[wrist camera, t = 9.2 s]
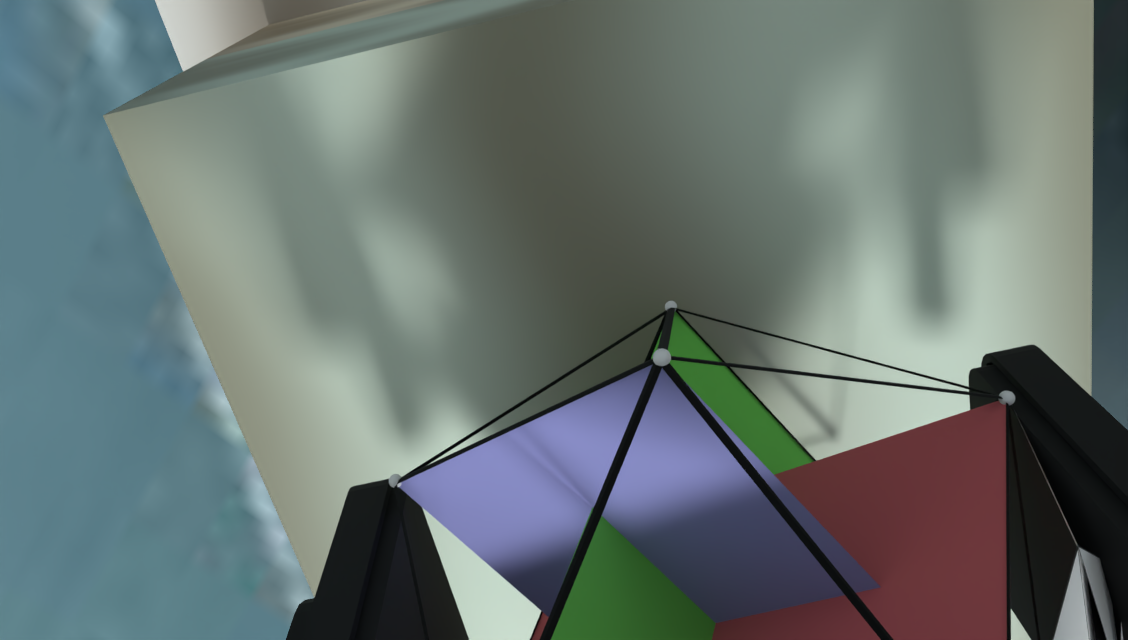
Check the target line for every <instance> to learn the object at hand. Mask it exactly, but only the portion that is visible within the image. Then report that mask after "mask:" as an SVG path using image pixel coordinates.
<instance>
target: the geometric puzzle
mask: <svg viewBox="0 0 1128 640" xmlns="http://www.w3.org/2000/svg"><path fill="white" fill-rule="evenodd" d="M665 309H666V310H665V311H664V312H662V313H661V314H659V315H657V316H656V317H654V318H653V319H651V320H650V321H648V322H646V323H645V324H643V325H642V326H640V327H638V328H637V329H635V330H634V331H632V332H630V333H629V334H627V335H626V336H624V337H623V338H621V339H619V340H618V341H616V342H615V343H613V344H611V345H610V346H608V347H607V348H605V349H604V350H602V351H600V352H599V353H597V354H596V355H594V356H592V357H591V358H589V359H588V360H586V361H585V362H583V363H581V364H580V365H578V366H577V367H575V368H573V369H572V370H570V371H569V372H567V373H565V374H564V375H562V376H561V377H559V378H558V379H556V380H554V381H553V382H551V383H550V384H548V385H546V386H545V387H543V388H542V389H540V390H539V391H537V392H535V393H534V394H532V395H531V396H529V397H527V398H526V399H524V400H523V401H521V402H520V403H518V404H516V405H515V406H513V407H512V408H510V409H508V410H507V411H505V412H504V413H502V414H500V415H499V416H497V417H496V418H494V419H493V420H491V421H489V422H488V423H486V424H485V425H483V426H481V427H480V428H478V429H477V430H475V431H474V432H472V433H470V434H469V435H467V436H466V437H464V438H462V439H461V440H459V441H458V442H456V443H455V444H453V445H451V446H450V447H448V448H447V449H445V450H443V451H442V452H440V453H439V454H437V455H435V456H434V457H432V458H431V459H429V460H428V461H426V462H424V463H423V464H421V465H420V466H418V467H416V468H415V469H413V470H412V471H410V472H409V473H407V474H405V475H404V476H402V477H401V476H400V475H399V474H393V475H391V476H390V478H389V484H390V486H391V487H393V488H395V493H396V499H397V504H398V509H399V513H400V518H401V523H402V528H403V533H404V537H405V542H406V547H407V552H408V557H409V562H410V567H411V572H412V577H413V582H414V587H415V592H416V597H417V601H418V606H419V611H420V616H421V621H422V626H423V631H424V636H425V640H429V637H428V632H427V627H426V622H425V617H424V612H423V608H422V603H421V598H420V593H419V588H418V583H417V579H416V574H415V569H414V564H413V559H412V555H411V550H410V545H409V540H408V535H407V530H406V526H405V521H404V516H403V511H402V506H401V501H400V497H399V492H398V488H401V489H402V490H403V491H404V492H405V493H406V494H408V495H409V496H410V497H411V498H412V499H413V500H414V501H416V502H417V503H418V504H419V505H420V506H421V507H422V508H424V509H425V510H426V511H427V512H428V513H429V514H431V515H432V516H433V517H434V518H435V519H436V520H437V521H439V522H440V523H441V524H442V525H443V526H444V527H445V528H447V529H448V530H449V531H450V532H451V533H452V534H454V535H455V536H456V537H457V538H458V539H459V540H460V541H462V542H463V543H464V544H465V545H466V546H467V547H468V548H470V549H471V550H472V551H473V552H474V553H475V554H477V555H478V556H479V557H480V558H481V559H482V560H483V561H485V562H486V563H487V564H488V565H489V566H490V567H491V568H493V569H494V570H495V571H496V572H497V573H498V574H500V575H501V576H502V577H503V578H504V579H505V580H506V581H508V582H509V583H510V584H511V585H512V586H513V587H514V588H516V589H517V590H518V591H519V592H520V593H521V594H523V595H524V596H525V597H526V598H527V599H528V600H529V601H531V602H532V603H533V604H534V605H535V606H536V607H537V608H539V609H540V610H541V613H540V615H539V618H538V620H537V623H536V625H535V628H534V630H533V633H532V635H531V638H530V640H1011V562H1010V435H1011V443H1012V450H1013V458H1014V466H1015V473H1016V481H1017V488H1018V496H1019V503H1020V511H1021V519H1022V526H1023V534H1024V541H1025V549H1026V556H1027V564H1028V571H1029V579H1030V587H1031V594H1032V602H1033V609H1034V617H1035V624H1036V632H1037V639H1038V640H1040V632H1039V625H1038V617H1037V610H1036V602H1035V595H1034V587H1033V579H1032V572H1031V564H1030V557H1029V549H1028V542H1027V534H1026V526H1025V519H1024V511H1023V504H1022V496H1021V489H1020V481H1019V473H1018V466H1017V458H1016V451H1015V443H1014V436H1013V428H1012V420H1011V413H1010V405H1012V404H1013V403H1014V402H1015V395H1014V394H1013V393H1012V392H1011V391H1003V392H1001V393H1000V394H999V395H998V394H994V393H990V392H987V391H983V390H979V389H975V388H972V387H968V386H964V385H961V384H957V383H953V382H949V381H946V380H942V379H938V378H934V377H931V376H927V375H923V374H920V373H916V372H912V371H908V370H905V369H901V368H897V367H894V366H890V365H886V364H882V363H879V362H875V361H871V360H867V359H864V358H860V357H856V356H853V355H849V354H845V353H841V352H838V351H834V350H830V349H827V348H823V347H819V346H815V345H812V344H808V343H804V342H800V341H797V340H793V339H789V338H786V337H782V336H778V335H774V334H771V333H767V332H763V331H760V330H756V329H752V328H748V327H745V326H741V325H737V324H733V323H730V322H726V321H722V320H719V319H715V318H711V317H707V316H704V315H700V314H696V313H693V312H689V311H685V310H681V309H678V308H677V304H676V303H675V302H674V301H668V302H667V303H666V304H665ZM678 311H680V312H684V313H688V314H691V315H695V316H699V317H702V318H706V319H710V320H714V321H717V322H721V323H725V324H728V325H732V326H736V327H739V328H743V329H747V330H750V331H754V332H758V333H762V334H765V335H769V336H773V337H776V338H780V339H784V340H787V341H791V342H795V343H799V344H802V345H806V346H810V347H813V348H817V349H821V350H824V351H828V352H832V353H836V354H839V355H843V356H847V357H850V358H854V359H858V360H861V361H865V362H869V363H873V364H876V365H880V366H884V367H887V368H891V369H895V370H898V371H902V372H906V373H910V374H913V375H917V376H921V377H924V378H928V379H932V380H935V381H939V382H943V383H947V384H950V385H954V386H958V387H961V388H965V389H969V390H972V391H976V392H980V393H976V392H968V391H959V390H951V389H943V388H934V387H926V386H918V385H909V384H901V383H893V382H884V381H876V380H868V379H859V378H851V377H843V376H834V375H826V374H818V373H810V372H801V371H793V370H785V369H776V368H768V367H760V366H751V365H743V364H735V363H726V362H725V361H724V360H723V359H722V358H721V357H720V356H719V355H718V354H717V353H716V352H715V350H714V349H713V348H712V347H711V346H710V345H709V344H708V343H707V342H706V341H705V340H704V339H703V338H702V336H701V335H700V334H699V333H698V332H697V331H696V330H695V329H694V328H693V327H692V326H691V325H690V323H689V322H688V321H687V320H686V319H685V318H684V317H683V316H682V315H681V314H680V313H679V312H678ZM662 316H664V317H663V319H662V321H661V324H660V326H659V328H658V331H657V333H656V336H655V338H654V340H653V343H652V345H651V347H650V350H649V352H648V354H647V357H646V359H645V361H644V363H642V364H640V365H638V366H636V367H633V368H631V369H629V370H627V371H625V372H623V373H621V374H619V375H617V376H614V377H612V378H610V379H608V380H606V381H604V382H602V383H600V384H598V385H595V386H593V387H591V388H589V389H587V390H585V391H583V392H581V393H579V394H576V395H574V396H572V397H570V398H568V399H566V400H564V401H562V402H560V403H557V404H555V405H553V406H551V407H549V408H547V409H545V410H543V411H541V412H539V413H536V414H534V415H532V416H530V417H528V418H526V419H524V420H522V421H520V422H517V423H515V424H513V425H511V426H509V427H507V428H505V429H503V430H501V431H498V432H496V433H494V434H492V435H490V436H488V437H486V438H484V439H482V440H479V441H477V442H475V443H473V444H471V445H469V446H467V447H465V448H463V449H460V450H458V451H456V452H454V453H452V454H450V455H448V456H446V457H444V458H442V459H439V460H437V461H435V462H433V461H434V460H436V459H438V458H439V457H441V456H442V455H444V454H445V453H447V452H449V451H450V450H452V449H453V448H455V447H456V446H458V445H460V444H461V443H463V442H464V441H466V440H468V439H469V438H471V437H472V436H474V435H475V434H477V433H479V432H480V431H482V430H483V429H485V428H487V427H488V426H490V425H491V424H493V423H494V422H496V421H498V420H499V419H501V418H502V417H504V416H505V415H507V414H509V413H510V412H512V411H513V410H515V409H517V408H518V407H520V406H521V405H523V404H524V403H526V402H528V401H529V400H531V399H532V398H534V397H536V396H537V395H539V394H540V393H542V392H543V391H545V390H547V389H548V388H550V387H551V386H553V385H555V384H556V383H558V382H559V381H561V380H562V379H564V378H566V377H567V376H569V375H570V374H572V373H573V372H575V371H577V370H578V369H580V368H581V367H583V366H585V365H586V364H588V363H589V362H591V361H592V360H594V359H596V358H597V357H599V356H600V355H602V354H604V353H605V352H607V351H608V350H610V349H611V348H613V347H615V346H616V345H618V344H619V343H621V342H622V341H624V340H626V339H627V338H629V337H630V336H632V335H634V334H635V333H637V332H638V331H640V330H641V329H643V328H645V327H646V326H648V325H649V324H651V323H653V322H654V321H656V320H657V319H659V318H660V317H662ZM730 367H735V368H743V369H752V370H760V371H769V372H777V373H786V374H794V375H803V376H811V377H819V378H828V379H836V380H845V381H853V382H862V383H870V384H879V385H887V386H896V387H904V388H912V389H921V390H929V391H938V392H946V393H955V394H963V395H972V396H980V397H989V398H997V399H998V400H996V401H995V402H993V403H990V404H987V405H984V406H981V407H978V408H975V409H972V410H969V411H966V412H963V413H960V414H957V415H954V416H950V417H947V418H944V419H941V420H938V421H935V422H932V423H929V424H926V425H923V426H920V427H917V428H914V429H911V430H908V431H905V432H902V433H899V434H896V435H893V436H890V437H887V438H884V439H881V440H878V441H875V442H872V443H869V444H866V445H863V446H859V447H856V448H853V449H850V450H847V451H844V452H841V453H838V454H835V455H832V456H829V457H826V458H823V459H820V460H817V461H816V460H815V459H814V457H813V456H812V455H811V454H810V453H809V452H808V451H807V450H806V449H805V448H804V447H803V446H802V444H801V443H800V442H799V441H798V440H797V439H796V438H795V437H794V436H793V435H792V434H791V433H790V432H789V430H788V429H787V428H786V427H785V426H784V425H783V424H782V423H781V422H780V421H779V420H778V419H777V417H776V416H775V415H774V414H773V413H772V412H771V411H770V410H769V409H768V408H767V407H766V406H765V405H764V403H763V402H762V401H761V400H760V399H759V398H758V397H757V396H756V395H755V394H754V393H753V392H752V390H751V389H750V388H749V387H748V386H747V385H746V384H745V383H744V382H743V381H742V380H741V379H740V377H739V376H738V375H737V374H736V373H735V372H734V371H733V370H732V369H731V368H730ZM1014 411H1015V410H1014ZM1015 413H1016V412H1015ZM1020 424H1021V423H1020ZM1021 426H1022V425H1021ZM1022 428H1023V427H1022ZM1023 430H1024V429H1023ZM1026 437H1027V436H1026ZM1027 439H1028V438H1027ZM1028 441H1029V440H1028ZM1029 443H1030V442H1029ZM1030 445H1031V444H1030ZM1032 450H1033V449H1032ZM1033 452H1034V451H1033ZM1034 454H1035V453H1034ZM1035 456H1036V455H1035ZM1036 458H1037V457H1036ZM1037 460H1038V459H1037ZM431 462H433V463H431ZM430 463H431V464H430ZM1038 463H1039V462H1038ZM428 464H429V465H428ZM426 465H427V466H426ZM1039 465H1040V464H1039ZM1040 467H1041V466H1040ZM1041 469H1042V468H1041ZM1042 471H1043V470H1042ZM1043 473H1044V472H1043ZM1044 476H1045V474H1044ZM1045 478H1046V477H1045ZM1046 480H1047V479H1046ZM1047 482H1048V481H1047ZM1048 484H1049V483H1048ZM1049 486H1050V485H1049ZM1050 489H1051V487H1050ZM1051 491H1052V489H1051ZM1052 493H1053V491H1052ZM1053 495H1054V494H1053ZM1054 497H1055V496H1054ZM1055 499H1056V498H1055ZM1056 502H1057V500H1056ZM1057 504H1058V502H1057ZM1058 506H1059V504H1058ZM1059 508H1060V506H1059ZM1060 510H1061V509H1060ZM1061 512H1062V511H1061ZM1062 515H1063V513H1062ZM1063 517H1064V515H1063ZM1064 519H1065V517H1064ZM1065 521H1066V519H1065ZM1066 523H1067V521H1066ZM1067 525H1068V524H1067ZM1068 528H1069V526H1068ZM1069 530H1070V528H1069ZM1070 532H1071V530H1070ZM1071 534H1072V532H1071ZM1072 536H1073V534H1072ZM1073 538H1074V536H1073ZM1074 541H1075V539H1074ZM1075 543H1076V541H1075ZM1076 545H1077V543H1076ZM1088 581H1089V584H1090V588H1091V591H1092V594H1093V597H1094V601H1095V604H1096V607H1097V610H1098V614H1099V617H1100V620H1101V623H1102V627H1103V630H1104V633H1105V637H1106V640H1117V635H1116V627H1115V619H1114V612H1113V605H1112V601H1111V598H1110V594H1109V590H1108V587H1107V583H1106V580H1105V576H1104V572H1103V569H1102V565H1101V561H1100V558H1099V556H1097V555H1095V554H1093V553H1091V552H1090V551H1088V550H1086V549H1084V548H1082V547H1081V546H1079V545H1077V548H1076V552H1075V555H1074V559H1073V563H1072V566H1071V570H1070V574H1069V577H1068V581H1067V585H1066V589H1065V592H1064V596H1063V600H1062V603H1061V607H1060V611H1059V614H1058V618H1057V622H1056V625H1055V629H1054V633H1053V637H1052V640H1096V639H1095V631H1094V624H1093V616H1092V609H1091V601H1090V593H1089V586H1088ZM1121 640H1123V632H1122V624H1121Z"/></svg>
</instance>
